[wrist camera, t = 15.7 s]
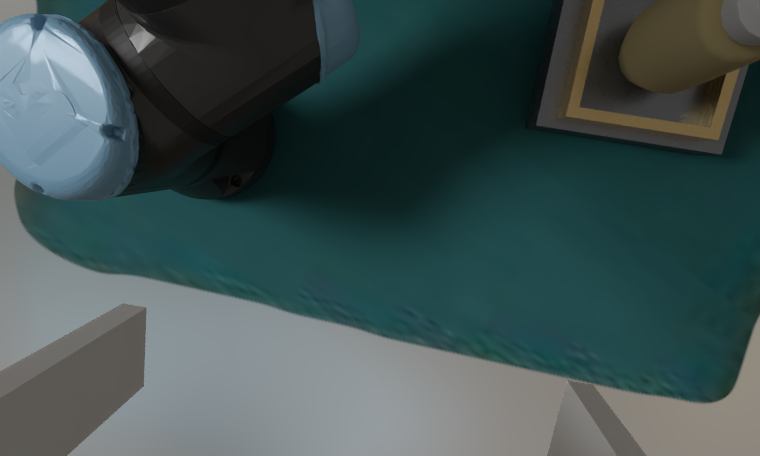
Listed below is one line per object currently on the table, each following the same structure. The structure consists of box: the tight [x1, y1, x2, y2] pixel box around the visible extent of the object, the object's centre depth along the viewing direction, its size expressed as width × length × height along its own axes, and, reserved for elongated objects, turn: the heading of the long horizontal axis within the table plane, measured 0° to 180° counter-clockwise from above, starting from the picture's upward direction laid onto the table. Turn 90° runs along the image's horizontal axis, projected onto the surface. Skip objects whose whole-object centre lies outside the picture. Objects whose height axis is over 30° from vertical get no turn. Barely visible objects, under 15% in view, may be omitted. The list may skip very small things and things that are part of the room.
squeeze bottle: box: [618, 0, 760, 94], centre depth 31 cm, size 8×8×18 cm
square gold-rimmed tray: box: [526, 0, 749, 155], centre depth 41 cm, size 18×16×6 cm
